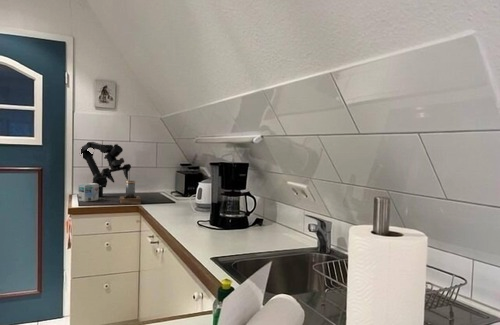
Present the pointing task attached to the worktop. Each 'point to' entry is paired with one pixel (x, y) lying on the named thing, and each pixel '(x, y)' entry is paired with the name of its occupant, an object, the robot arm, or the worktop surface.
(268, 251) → the worktop surface
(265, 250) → the worktop surface
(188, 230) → the worktop surface
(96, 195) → the light bulb box
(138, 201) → the holder
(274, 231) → the worktop surface
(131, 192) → the canister
